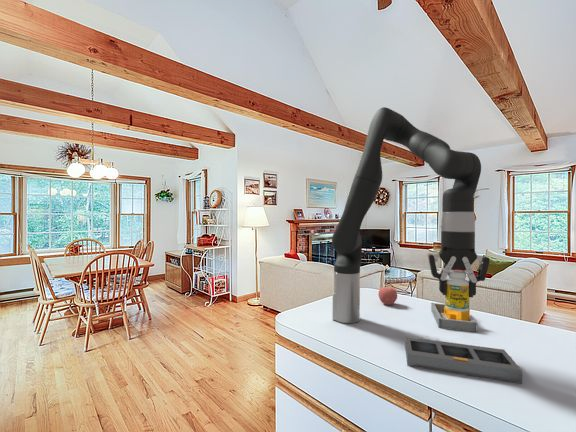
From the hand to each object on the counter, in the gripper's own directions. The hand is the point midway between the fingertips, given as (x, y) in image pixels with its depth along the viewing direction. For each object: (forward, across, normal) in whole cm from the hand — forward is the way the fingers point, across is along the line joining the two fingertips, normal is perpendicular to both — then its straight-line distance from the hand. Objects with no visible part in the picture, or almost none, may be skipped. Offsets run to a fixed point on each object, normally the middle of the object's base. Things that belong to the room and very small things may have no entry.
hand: (457, 295), depth 75 cm
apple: (+18, -17, +46) cm, 52 cm away
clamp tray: (+17, +5, +34) cm, 39 cm away
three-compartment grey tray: (+17, 0, 0) cm, 17 cm away
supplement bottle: (+4, 0, 0) cm, 4 cm away
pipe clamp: (+18, +7, +35) cm, 39 cm away
